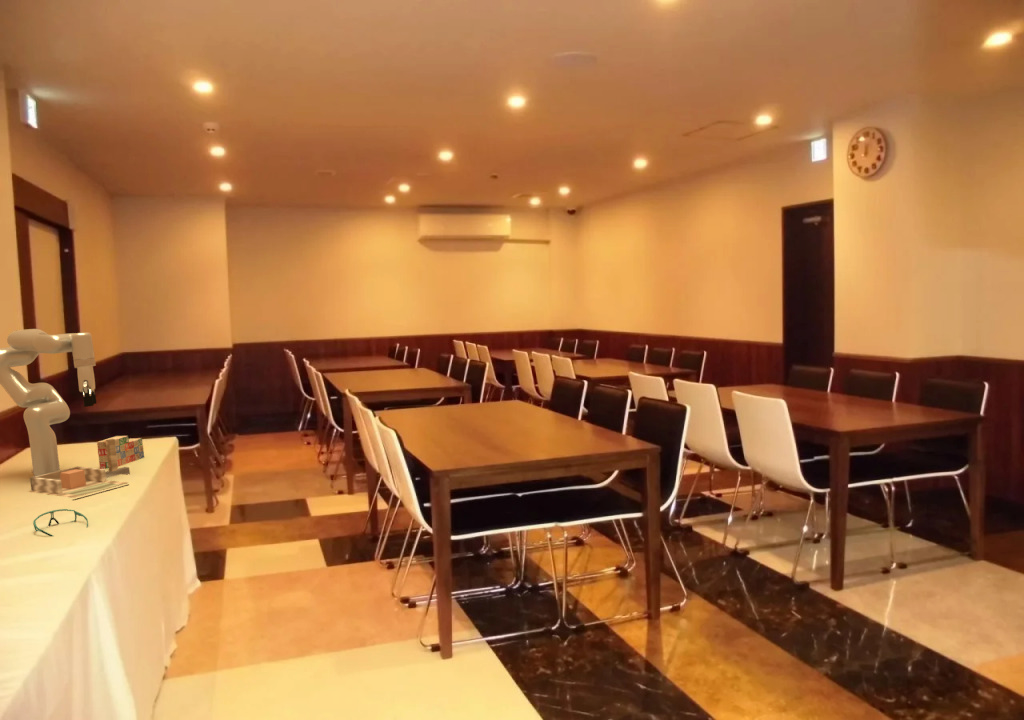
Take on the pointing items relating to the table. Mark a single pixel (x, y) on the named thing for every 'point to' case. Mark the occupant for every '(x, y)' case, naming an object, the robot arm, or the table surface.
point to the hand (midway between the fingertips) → (90, 405)
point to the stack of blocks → (121, 450)
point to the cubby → (54, 487)
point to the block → (73, 479)
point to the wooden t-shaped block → (114, 460)
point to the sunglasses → (55, 519)
